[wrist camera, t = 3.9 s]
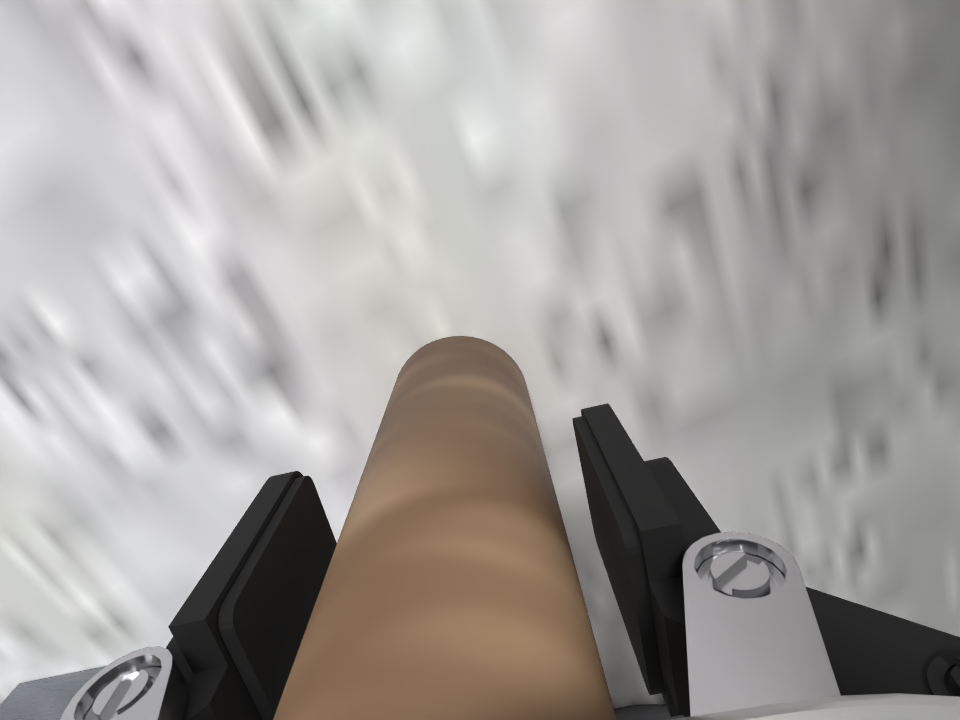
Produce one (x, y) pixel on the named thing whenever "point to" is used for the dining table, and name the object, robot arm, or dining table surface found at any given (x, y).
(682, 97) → the dining table surface
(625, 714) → the coaster
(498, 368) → the tan wooden rod
